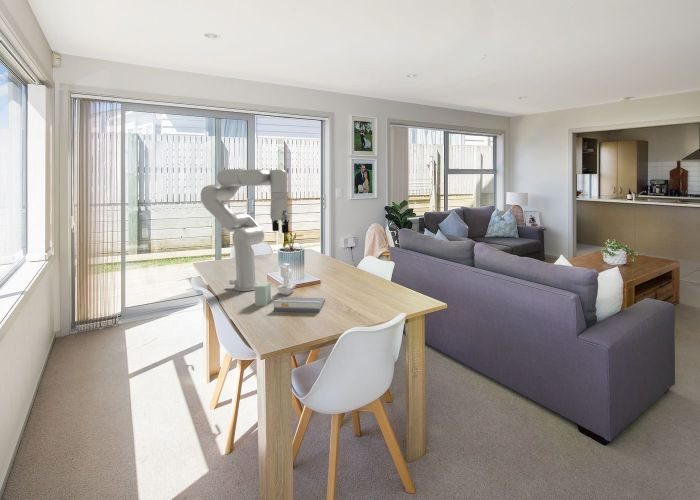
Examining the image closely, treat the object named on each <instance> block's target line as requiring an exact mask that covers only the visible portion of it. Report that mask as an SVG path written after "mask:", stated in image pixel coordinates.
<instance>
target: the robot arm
mask: <svg viewBox="0 0 700 500" xmlns="http://www.w3.org/2000/svg"><path fill="white" fill-rule="evenodd" d="M216 181H217V182H218V183H219V184H209V185H208V184H207V185H205V186H204V187H202V189H201V191H200V200H201V203H202V205H203V206H204V208H205V209H206V210H207V211H208V212H209V213H210V215H212V216H213V217H214V218H215V219H216V221H218V222H219V224H220V225H221V226H222V227H223V228H224V229H225V230H226V231H228V233H230V232H231V233H232V236H231V237H232V244H233V246H234V254H235V255H234V258H235V272H236V273H235V274H236V276H235V277H236V279H235V280H233V279H230V280H229V281H228V284H229V285H234V286H233V290H235V291H238V292H250V291H255V288H254V286H255V285H257V284H258V283H256V282H257V281H256V261H255V260H256V257H255V252H254V249H253V248H252V246H255V245H258V244H261V243H262V242H263V241H264V240H265V233H264V230H263V228H262V227H261V226H260V225H259V224H258V223H257V222H256V221H255V220H254V218H252V216H251V215H249V214H248V213H246V212H233V210H231V208H229V206H227V205H226V204H225V203H223V201H229V200H231V199H232V198H233V197H234V196H235V195H236V193H238V191H239V189H240V188H241V187H245V186H252V187H253V186H255V187H256V186H270V211H269V212H270V215H269V216H270V219H271V224H272V225H271V227H272V232H279V231H280V226H279V225H280V223H279V221H281V233H282V234H288V233H289V223H290V218H291V216H290V215H289V207H288V187H287V171H286V170H285V169H265V168H263V169H262V168H261V169H258V168H257V169H245V168H225V169H221V170H220V171H218V172H217V175H216Z"/></svg>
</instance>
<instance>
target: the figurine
mask: <svg viewBox="0 0 700 500" xmlns="http://www.w3.org/2000/svg"><path fill="white" fill-rule="evenodd" d="M280 277H281V278H283V283H281V284H280V285H278V286H277V290H278V291H279V293H280V295H288V296H290V295H291V294H292V293H293V292H294V290H295V288H296V285H297V284H294V283H293V284H292V283H290V280H291V279H292V278H293V277H292V270H291V268H290V263H282V266H281V267H280Z"/></svg>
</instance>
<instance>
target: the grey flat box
mask: <svg viewBox="0 0 700 500" xmlns="http://www.w3.org/2000/svg"><path fill="white" fill-rule="evenodd" d="M325 302H326V298H325V297H296V296H295V297H292V296H282V297H281V298H280V300H276V299H275V300H273V311H274V312H292V313H293V312H296V313H297V312H299V313H300V312H301V313H321V310H322V308H323V306H324V304H325Z"/></svg>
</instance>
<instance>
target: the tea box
mask: <svg viewBox="0 0 700 500" xmlns="http://www.w3.org/2000/svg"><path fill="white" fill-rule="evenodd" d="M256 284H257V285H255V286H254V288H255V290H254V305H255V307H256V306H257V307H258V306H262V307H263V306H264V307H266V306H267V305H268V304H270V302H271V301H272V299H271V298H272V297H271V296H272V295H271V293H272V292H271V281H259V282H257V283H256Z"/></svg>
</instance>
